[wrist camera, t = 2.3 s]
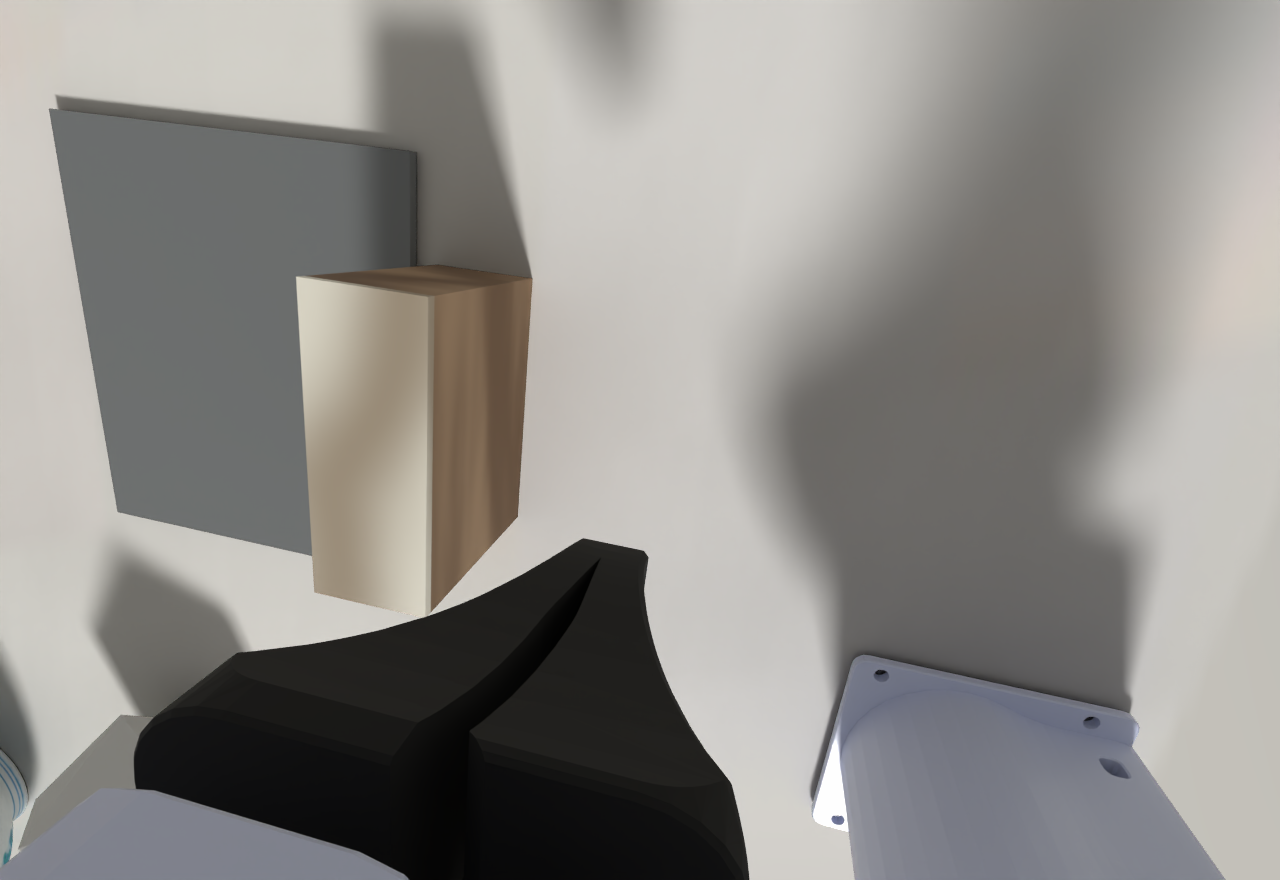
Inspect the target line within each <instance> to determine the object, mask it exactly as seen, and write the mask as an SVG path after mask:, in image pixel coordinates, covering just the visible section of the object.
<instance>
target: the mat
mask: <svg viewBox="0 0 1280 880" xmlns="http://www.w3.org/2000/svg"><path fill="white" fill-rule="evenodd" d="M49 112H50V118H51V124H52V129H53V135H54V141H55V147H56V153H57V159H58V165H59V171H60V176H61V182H62V188H63V194H64V200H65V206H66V212H67V217H68V223H69V229H70V235H71V241H72V247H73V253H74V259H75V264H76V270H77V276H78V282H79V288H80V294H81V300H82V306H83V311H84V317H85V323H86V329H87V335H88V341H89V347H90V352H91V358H92V364H93V370H94V376H95V382H96V388H97V394H98V399H99V405H100V411H101V417H102V423H103V429H104V435H105V441H106V446H107V452H108V458H109V464H110V470H111V476H112V482H113V487H114V493H115V499H116V505H117V511H118V512H120V513H124V514H129V515H133V516H138V517H142V518H147V519H151V520H155V521H160V522H164V523H169V524H173V525H178V526H182V527H186V528H191V529H195V530H200V531H204V532H209V533H213V534H217V535H222V536H226V537H231V538H235V539H240V540H244V541H248V542H253V543H257V544H262V545H266V546H271V547H275V548H279V549H284V550H288V551H293V552H297V553H302V554H306V555H310V556H312V542H311V525H310V508H309V491H308V474H307V457H306V439H305V422H304V405H303V388H302V371H301V354H300V337H299V320H298V303H297V285H296V277H297V276H309V275H321V274H333V273H344V272H356V271H368V270H380V269H392V268H404V267H416V155H417V153H416V152H412V151H405V150H397V149H388V148H380V147H371V146H363V145H354V144H346V143H337V142H329V141H320V140H312V139H303V138H295V137H286V136H278V135H269V134H261V133H252V132H244V131H235V130H227V129H218V128H210V127H201V126H193V125H184V124H176V123H167V122H159V121H150V120H142V119H133V118H125V117H116V116H108V115H99V114H91V113H82V112H74V111H65V110H57V109H49Z"/></svg>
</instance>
